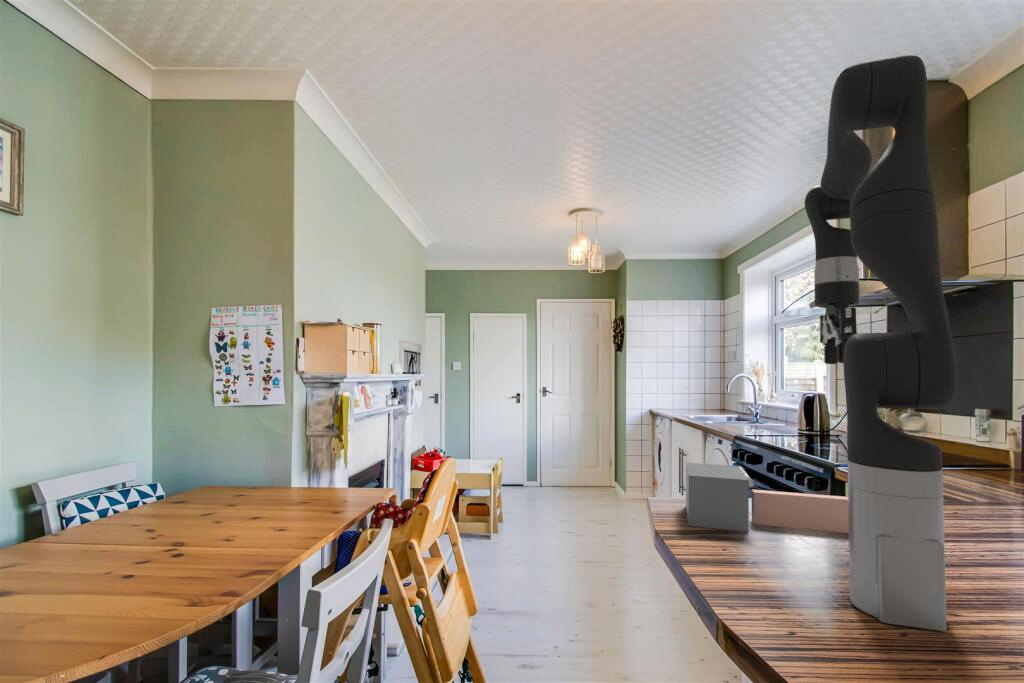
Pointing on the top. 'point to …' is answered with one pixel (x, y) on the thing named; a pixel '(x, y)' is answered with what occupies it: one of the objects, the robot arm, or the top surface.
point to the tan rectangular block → (800, 510)
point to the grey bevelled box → (717, 496)
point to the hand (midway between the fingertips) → (837, 363)
